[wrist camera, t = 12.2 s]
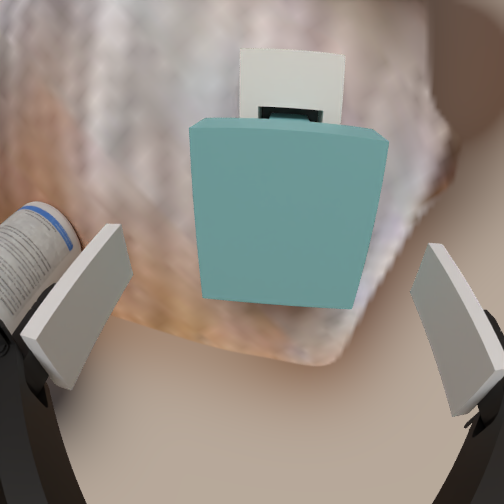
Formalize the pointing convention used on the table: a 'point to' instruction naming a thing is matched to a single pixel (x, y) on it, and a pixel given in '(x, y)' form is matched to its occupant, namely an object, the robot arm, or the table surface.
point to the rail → (291, 82)
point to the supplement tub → (32, 257)
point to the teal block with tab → (284, 208)
